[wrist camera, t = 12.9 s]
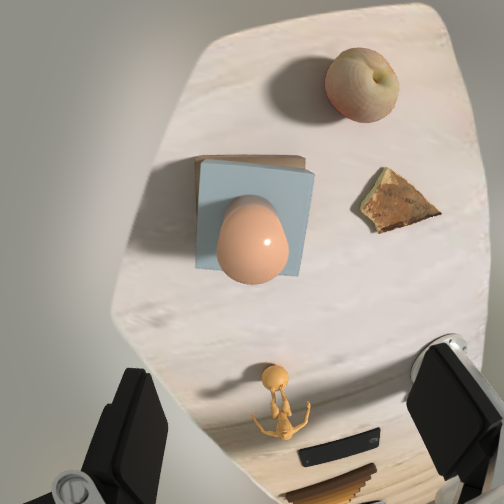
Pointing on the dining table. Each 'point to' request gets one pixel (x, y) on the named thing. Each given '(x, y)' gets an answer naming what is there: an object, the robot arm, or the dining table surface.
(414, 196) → the shard
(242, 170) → the top block
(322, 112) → the dining table surface
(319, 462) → the cell phone
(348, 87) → the fruit
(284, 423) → the figurine
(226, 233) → the terracotta cylinder
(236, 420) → the dining table surface
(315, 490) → the pan flute
